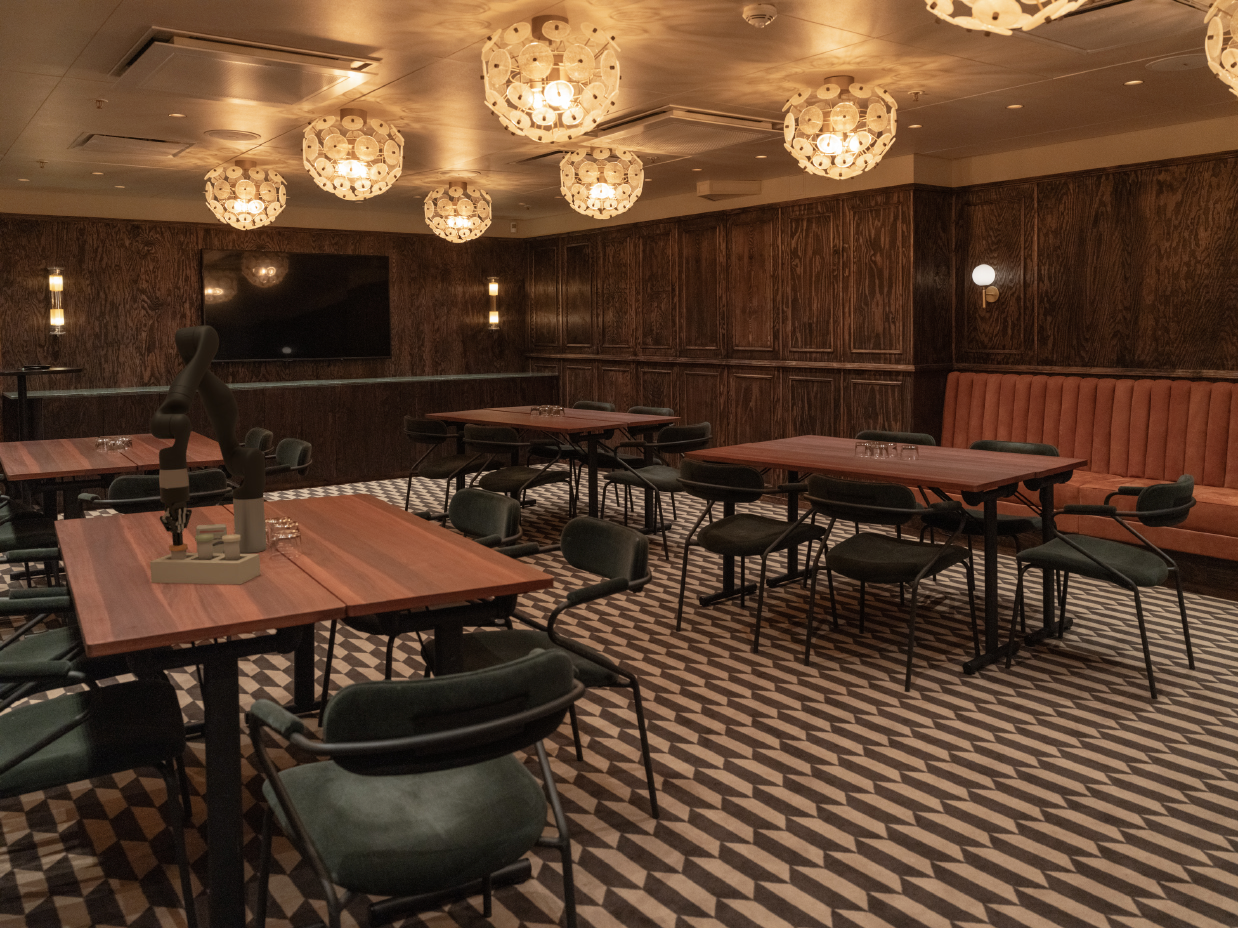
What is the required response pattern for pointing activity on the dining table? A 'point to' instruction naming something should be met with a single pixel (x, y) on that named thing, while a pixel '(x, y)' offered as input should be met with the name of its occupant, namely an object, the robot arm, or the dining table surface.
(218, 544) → the ink box
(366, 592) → the dining table surface
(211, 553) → the sage plunger
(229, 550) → the cream plunger
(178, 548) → the terracotta plunger
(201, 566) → the panel
